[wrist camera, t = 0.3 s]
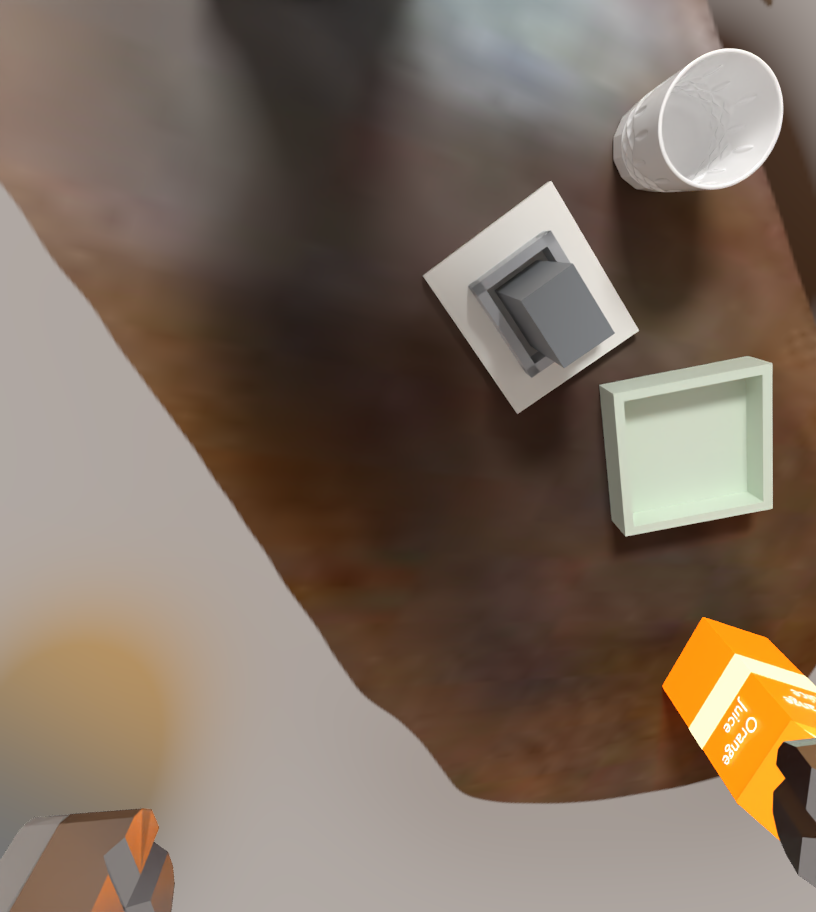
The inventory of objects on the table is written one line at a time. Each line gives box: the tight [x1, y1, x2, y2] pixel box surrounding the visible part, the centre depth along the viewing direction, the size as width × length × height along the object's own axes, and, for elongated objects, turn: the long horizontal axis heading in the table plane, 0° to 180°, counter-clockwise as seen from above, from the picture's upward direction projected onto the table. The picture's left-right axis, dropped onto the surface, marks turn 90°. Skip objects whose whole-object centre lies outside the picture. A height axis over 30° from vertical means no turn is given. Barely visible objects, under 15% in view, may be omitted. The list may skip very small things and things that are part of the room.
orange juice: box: [662, 617, 816, 840], centre depth 55 cm, size 8×9×20 cm
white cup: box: [613, 49, 783, 192], centre depth 44 cm, size 8×8×10 cm
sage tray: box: [599, 356, 773, 536], centre depth 55 cm, size 13×13×4 cm
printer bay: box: [423, 181, 639, 414], centre depth 51 cm, size 14×12×4 cm
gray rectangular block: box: [494, 260, 615, 368], centre depth 47 cm, size 6×4×10 cm
